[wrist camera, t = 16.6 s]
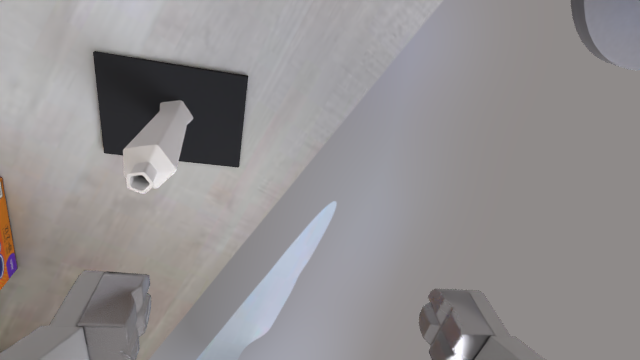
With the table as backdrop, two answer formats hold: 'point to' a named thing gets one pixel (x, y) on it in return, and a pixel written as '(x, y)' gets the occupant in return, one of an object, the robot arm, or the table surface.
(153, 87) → the mat
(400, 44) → the table surface
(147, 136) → the white pentagonal vase
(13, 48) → the table surface
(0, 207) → the game box
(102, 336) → the robot arm
